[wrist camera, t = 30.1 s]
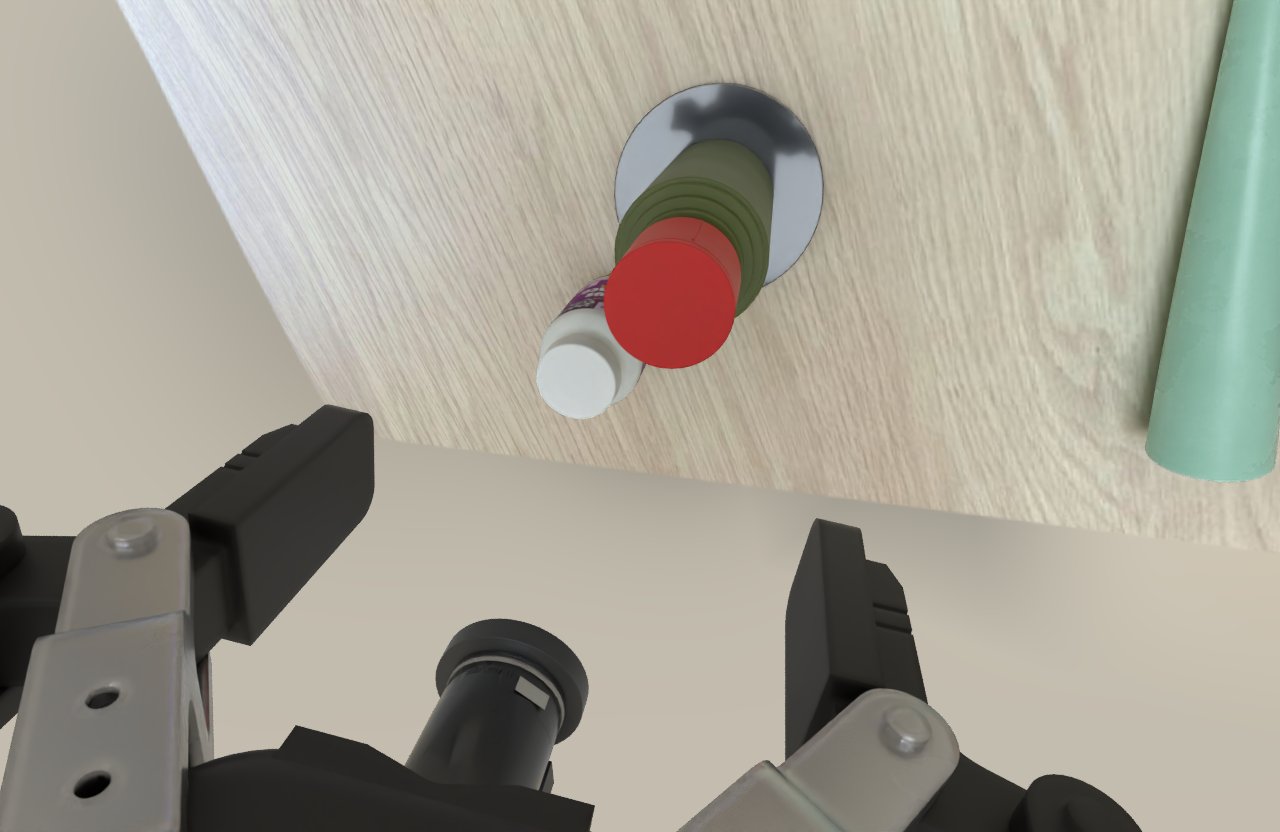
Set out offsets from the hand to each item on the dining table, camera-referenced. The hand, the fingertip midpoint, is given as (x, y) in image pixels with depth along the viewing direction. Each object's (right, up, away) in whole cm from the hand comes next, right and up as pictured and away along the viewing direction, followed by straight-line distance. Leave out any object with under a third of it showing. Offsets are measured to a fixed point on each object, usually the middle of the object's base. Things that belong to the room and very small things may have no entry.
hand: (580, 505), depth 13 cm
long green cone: (+29, +13, +22) cm, 39 cm away
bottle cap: (+3, +7, +13) cm, 15 cm away
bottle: (+5, +13, +26) cm, 30 cm away
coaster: (+5, +13, +26) cm, 30 cm away
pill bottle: (0, +8, +31) cm, 32 cm away
